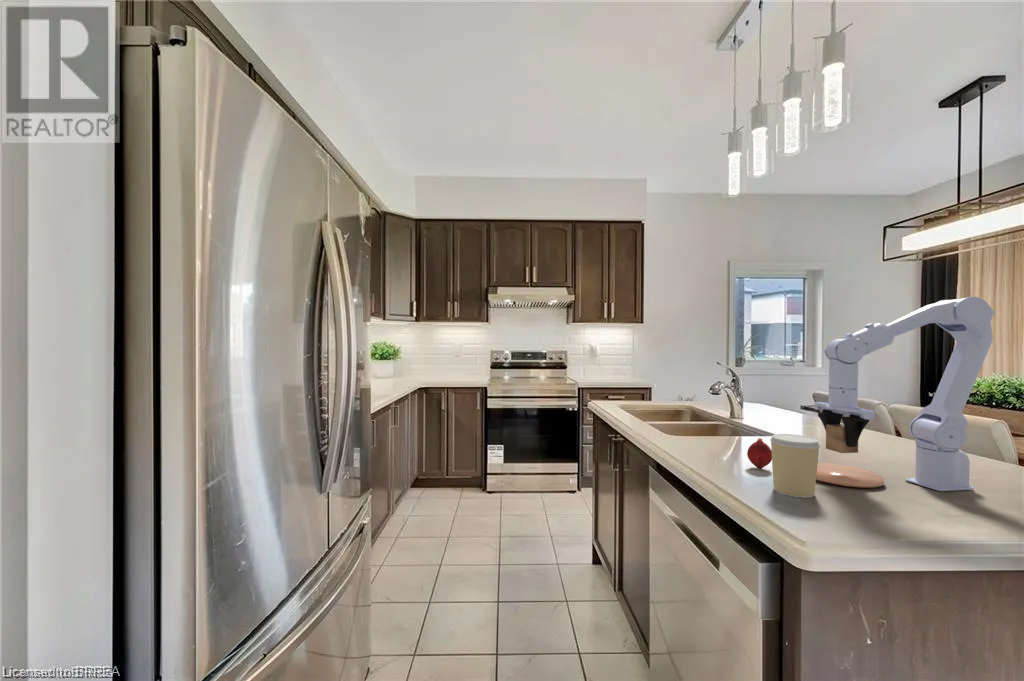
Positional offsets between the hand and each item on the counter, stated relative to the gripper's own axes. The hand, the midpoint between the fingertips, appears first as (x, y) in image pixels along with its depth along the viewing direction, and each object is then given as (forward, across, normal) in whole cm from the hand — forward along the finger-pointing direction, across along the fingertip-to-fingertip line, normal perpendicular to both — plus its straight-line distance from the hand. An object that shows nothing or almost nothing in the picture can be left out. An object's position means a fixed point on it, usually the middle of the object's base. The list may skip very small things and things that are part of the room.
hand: (841, 443), depth 110 cm
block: (+2, 0, 0) cm, 2 cm away
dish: (+9, -1, 0) cm, 9 cm away
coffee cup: (+9, +6, -19) cm, 22 cm away
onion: (+9, -11, -14) cm, 20 cm away
